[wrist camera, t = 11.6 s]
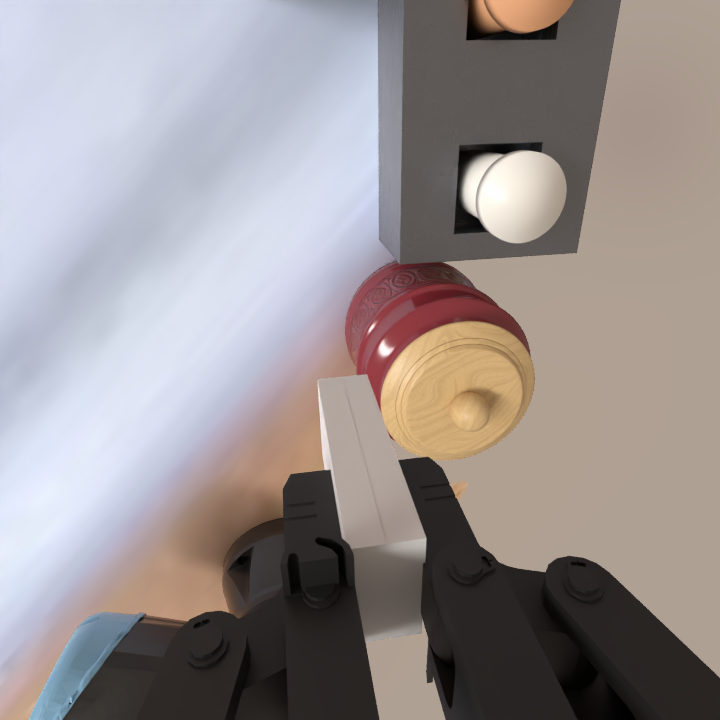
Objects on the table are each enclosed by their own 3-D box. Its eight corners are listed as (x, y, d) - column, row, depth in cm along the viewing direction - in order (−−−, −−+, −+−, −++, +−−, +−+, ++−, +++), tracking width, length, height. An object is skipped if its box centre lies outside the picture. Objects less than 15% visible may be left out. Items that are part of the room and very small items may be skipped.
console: (529, 230, 46) (576, 252, 39) (379, 239, 44) (399, 264, 37) (569, -79, 36) (642, -125, 29) (377, -84, 34) (405, -134, 27)
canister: (470, 240, 46) (574, 309, 30) (479, 364, 52) (569, 475, 36) (330, 271, 45) (362, 358, 29) (355, 393, 51) (393, 519, 35)
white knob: (502, 214, 42) (559, 240, 34) (437, 218, 41) (478, 245, 33) (510, 141, 39) (573, 149, 31) (440, 143, 38) (486, 153, 30)
